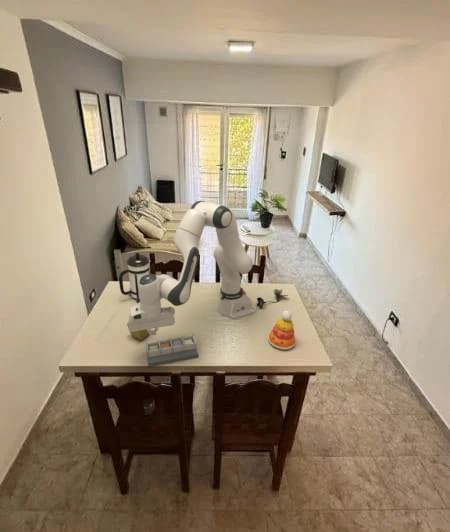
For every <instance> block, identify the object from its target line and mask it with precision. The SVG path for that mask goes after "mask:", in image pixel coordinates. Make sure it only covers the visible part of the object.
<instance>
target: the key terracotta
mask: <svg viewBox="0 0 450 532" xmlns="http://www.w3.org/2000/svg"><path fill="white" fill-rule="evenodd" d="M168 347H170V344H169V343H166V344H161V349H162V348H168Z"/></svg>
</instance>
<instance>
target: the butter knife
mask: <svg viewBox="0 0 450 532" xmlns="http://www.w3.org/2000/svg"><path fill="white" fill-rule="evenodd" d="M107 328H108V326H107V325H106V326H104V328H103V329H102V331H101V332H100V333H99V334H98V335H97V336H96V337H95V341H100V340H101V339H102V337H103V336H104V333H105V332H106V330H107Z"/></svg>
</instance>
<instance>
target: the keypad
mask: <svg viewBox="0 0 450 532" xmlns="http://www.w3.org/2000/svg"><path fill="white" fill-rule="evenodd" d="M190 339H192V342H193V343H190V344H184V340H190ZM175 340H181V343H182V345H179V346H173V343H172V341H175ZM166 343H169V344H170V347H168V348H162V349H161V344H166ZM155 345H158V349H156V350H151V351H150V350H149V346H155ZM197 345H198V344H197V341H196V338H195V335H194V334H192V335H184V336H179V337H173V338H166V339H162V340H155V341H150V342H146V343H145V348H146V354H147V365H148V368H152V367H156V366H157V367H158V366H163V365H168V364H173V363H179V362H183V361H188V360H194V359H197V358H199V352H198V349H197V347H198V346H197Z"/></svg>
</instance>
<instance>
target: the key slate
mask: <svg viewBox="0 0 450 532" xmlns="http://www.w3.org/2000/svg"><path fill="white" fill-rule="evenodd" d="M172 343H173V346H179V345H182V343H181V340H175V341H172Z"/></svg>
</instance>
